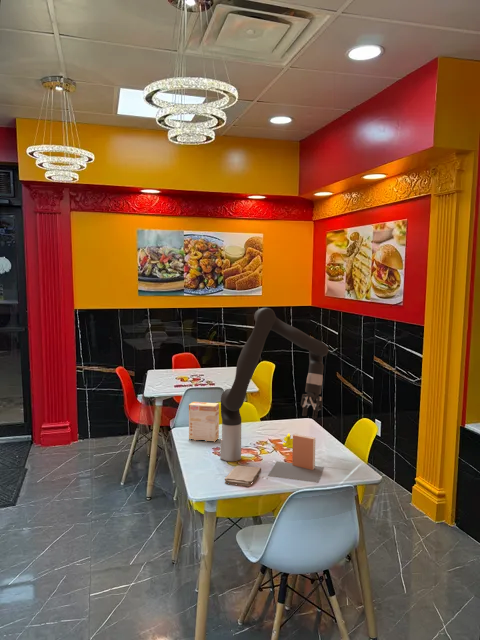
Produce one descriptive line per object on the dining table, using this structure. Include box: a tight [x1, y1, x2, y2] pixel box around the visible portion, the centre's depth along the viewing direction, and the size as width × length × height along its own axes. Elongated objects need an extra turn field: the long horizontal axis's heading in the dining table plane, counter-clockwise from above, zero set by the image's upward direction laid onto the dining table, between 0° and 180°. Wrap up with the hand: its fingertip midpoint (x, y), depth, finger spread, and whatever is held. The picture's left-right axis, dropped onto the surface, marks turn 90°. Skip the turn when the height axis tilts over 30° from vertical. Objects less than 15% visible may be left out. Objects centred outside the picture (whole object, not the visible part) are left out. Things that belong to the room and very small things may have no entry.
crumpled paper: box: [282, 433, 293, 449], centre depth 243 cm, size 6×8×8 cm
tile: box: [291, 433, 316, 470], centre depth 215 cm, size 10×2×14 cm, turn 58°
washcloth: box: [224, 465, 262, 487], centre depth 205 cm, size 12×18×3 cm, turn 163°
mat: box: [267, 461, 325, 484], centre depth 210 cm, size 22×18×1 cm
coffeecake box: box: [188, 401, 220, 443], centre depth 255 cm, size 15×7×20 cm, turn 76°
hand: (309, 417), depth 228 cm, fingers open, 8 cm apart
